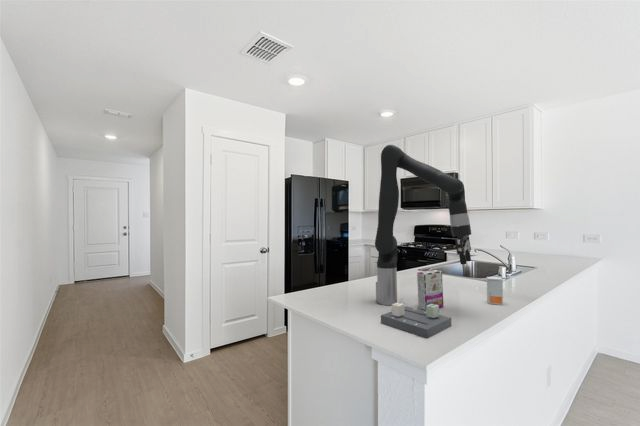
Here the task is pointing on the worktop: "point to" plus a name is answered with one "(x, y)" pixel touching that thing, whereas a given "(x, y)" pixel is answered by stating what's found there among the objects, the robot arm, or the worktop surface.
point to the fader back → (432, 310)
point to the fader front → (398, 309)
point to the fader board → (417, 322)
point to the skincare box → (495, 290)
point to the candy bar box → (430, 288)
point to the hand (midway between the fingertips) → (466, 262)
